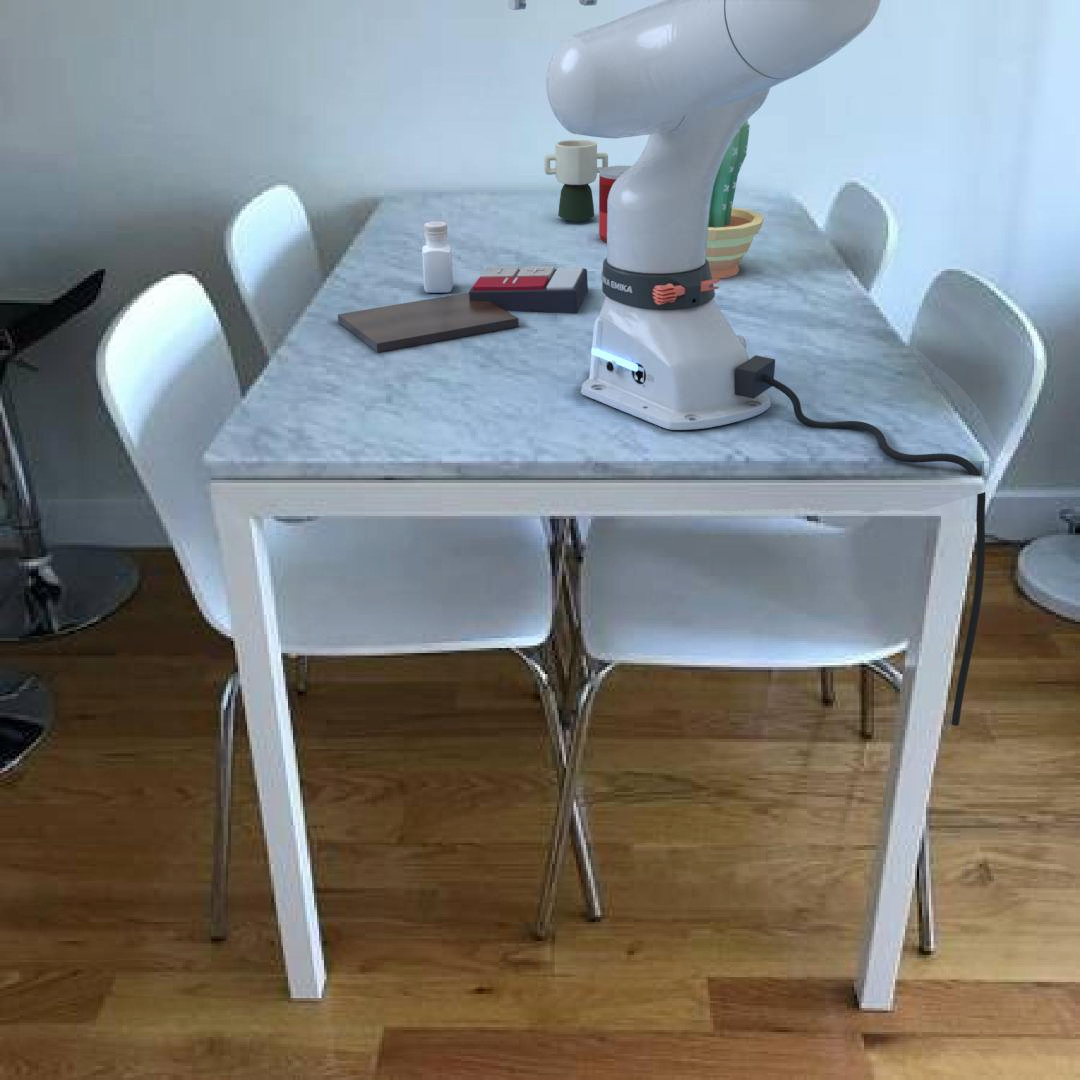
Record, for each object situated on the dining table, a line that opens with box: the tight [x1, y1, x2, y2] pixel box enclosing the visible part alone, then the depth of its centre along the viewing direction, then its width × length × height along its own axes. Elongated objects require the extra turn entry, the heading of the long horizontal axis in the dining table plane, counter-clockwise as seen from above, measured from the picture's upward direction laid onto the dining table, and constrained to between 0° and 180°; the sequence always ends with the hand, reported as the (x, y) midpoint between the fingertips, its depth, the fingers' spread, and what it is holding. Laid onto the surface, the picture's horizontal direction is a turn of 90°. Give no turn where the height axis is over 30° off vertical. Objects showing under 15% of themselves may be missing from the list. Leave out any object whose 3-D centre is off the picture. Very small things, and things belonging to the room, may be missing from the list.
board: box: [337, 292, 520, 353], centre depth 163 cm, size 14×20×1 cm
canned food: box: [598, 165, 633, 243], centre depth 200 cm, size 8×8×11 cm
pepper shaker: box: [421, 220, 454, 294], centre depth 176 cm, size 4×4×10 cm
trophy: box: [543, 139, 609, 222], centre depth 211 cm, size 11×7×13 cm, turn 95°
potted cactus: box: [706, 120, 765, 279], centre depth 179 cm, size 15×15×25 cm
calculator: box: [468, 265, 589, 315], centre depth 172 cm, size 11×4×15 cm
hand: (552, 6), depth 144 cm, fingers open, 8 cm apart
